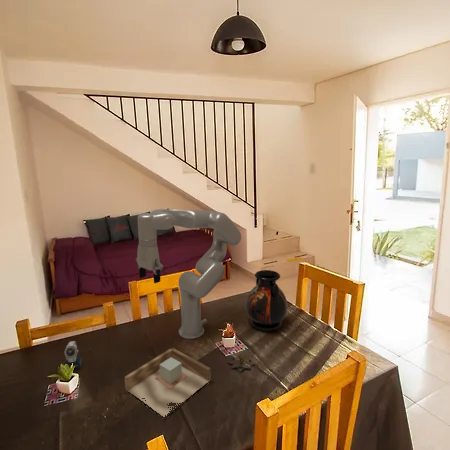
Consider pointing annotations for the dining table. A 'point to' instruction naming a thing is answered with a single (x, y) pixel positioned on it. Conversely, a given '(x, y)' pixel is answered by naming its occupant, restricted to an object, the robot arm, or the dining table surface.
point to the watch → (72, 355)
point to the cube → (170, 370)
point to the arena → (163, 391)
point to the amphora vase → (266, 302)
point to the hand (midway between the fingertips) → (149, 279)
